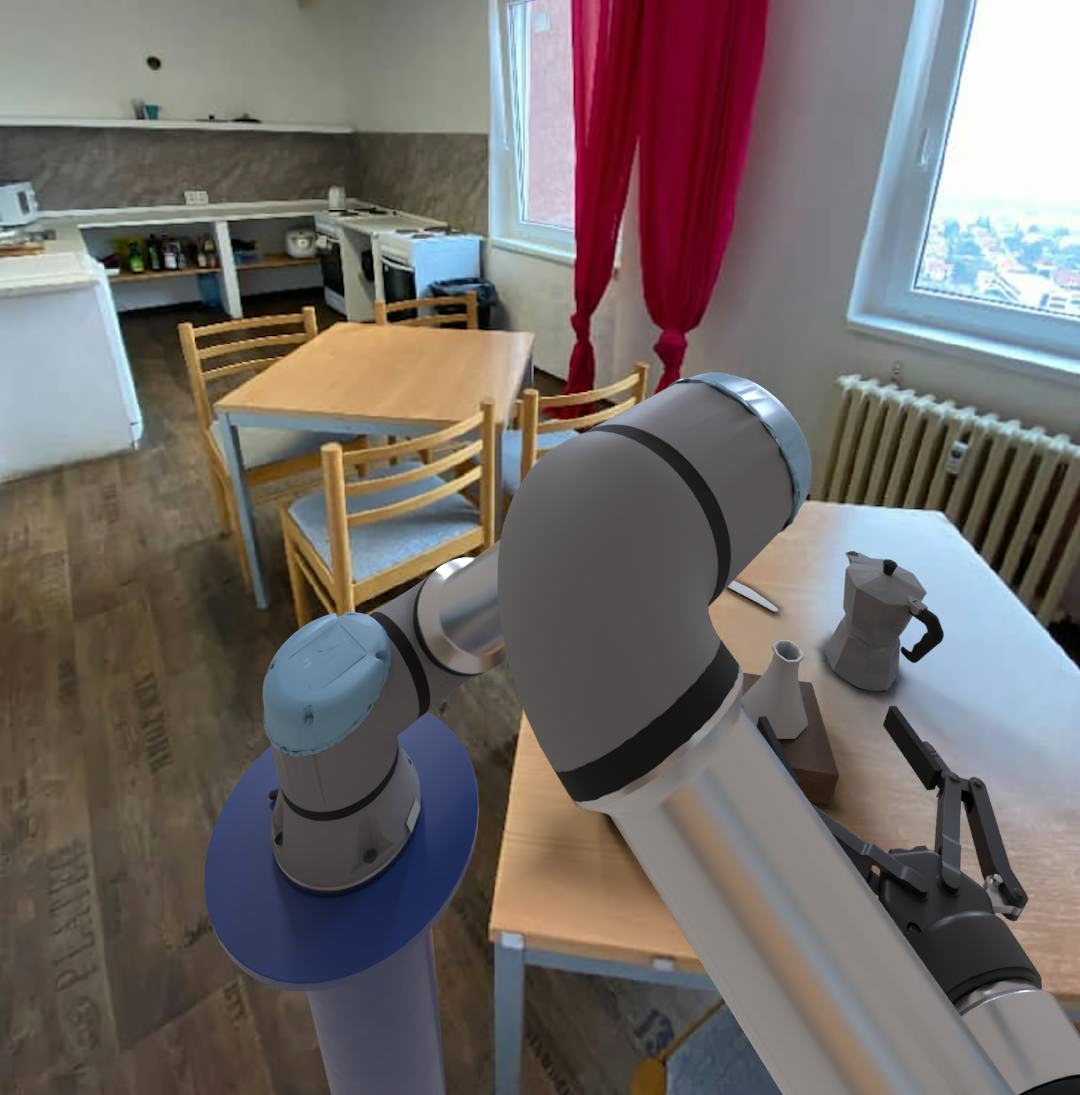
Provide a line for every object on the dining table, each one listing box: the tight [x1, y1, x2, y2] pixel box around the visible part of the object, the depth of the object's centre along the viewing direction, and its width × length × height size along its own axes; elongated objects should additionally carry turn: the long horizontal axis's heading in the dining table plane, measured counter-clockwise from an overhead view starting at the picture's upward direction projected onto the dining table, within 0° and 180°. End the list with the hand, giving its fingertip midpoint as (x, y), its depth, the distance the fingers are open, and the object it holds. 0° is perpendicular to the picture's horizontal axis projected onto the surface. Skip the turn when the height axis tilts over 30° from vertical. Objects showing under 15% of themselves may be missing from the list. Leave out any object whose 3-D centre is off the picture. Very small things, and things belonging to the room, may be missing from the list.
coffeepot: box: [823, 550, 945, 692], centre depth 80 cm, size 15×9×18 cm, turn 17°
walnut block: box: [742, 672, 840, 806], centre depth 72 cm, size 12×12×5 cm
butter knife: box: [727, 579, 779, 613], centre depth 102 cm, size 1×27×3 cm
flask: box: [742, 639, 808, 739], centre depth 70 cm, size 7×7×10 cm
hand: (825, 720), depth 60 cm, fingers open, 13 cm apart
